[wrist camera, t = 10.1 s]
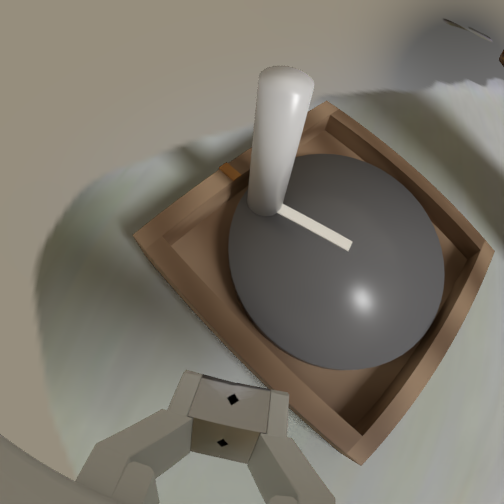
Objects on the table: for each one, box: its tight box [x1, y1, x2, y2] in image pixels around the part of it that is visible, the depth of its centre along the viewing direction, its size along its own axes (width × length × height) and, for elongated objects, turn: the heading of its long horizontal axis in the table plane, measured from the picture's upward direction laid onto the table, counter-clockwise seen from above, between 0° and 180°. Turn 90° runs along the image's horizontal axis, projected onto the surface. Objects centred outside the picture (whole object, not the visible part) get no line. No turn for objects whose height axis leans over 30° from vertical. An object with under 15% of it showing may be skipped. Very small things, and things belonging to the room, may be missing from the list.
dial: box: [228, 66, 445, 370], centre depth 16 cm, size 16×16×11 cm
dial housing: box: [133, 101, 495, 465], centre depth 21 cm, size 20×20×4 cm
